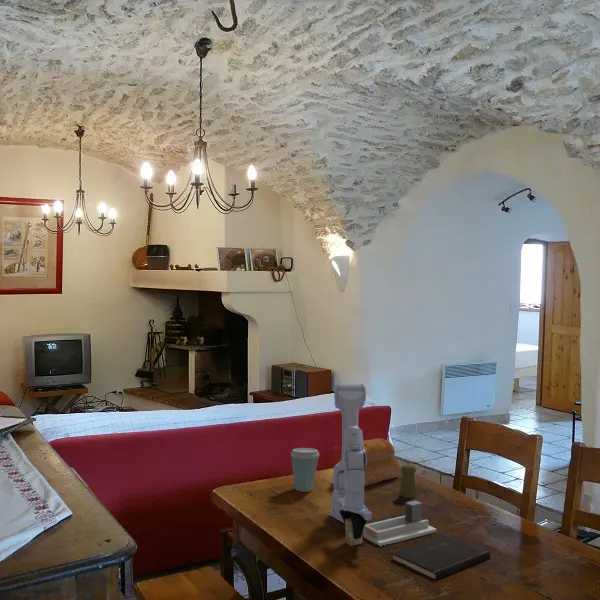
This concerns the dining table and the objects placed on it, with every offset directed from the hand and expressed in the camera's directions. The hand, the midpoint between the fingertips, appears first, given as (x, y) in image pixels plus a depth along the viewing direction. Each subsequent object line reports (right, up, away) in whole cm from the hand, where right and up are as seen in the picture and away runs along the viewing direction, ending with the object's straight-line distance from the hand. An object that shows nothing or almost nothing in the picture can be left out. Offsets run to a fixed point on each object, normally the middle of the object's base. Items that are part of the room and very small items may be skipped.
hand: (353, 536), depth 195 cm
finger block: (0, -2, 0) cm, 2 cm away
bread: (+10, 0, +61) cm, 62 cm away
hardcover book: (+24, -3, -10) cm, 26 cm away
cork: (+23, -1, +43) cm, 49 cm away
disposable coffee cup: (-14, 0, +49) cm, 51 cm away
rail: (+14, -2, +8) cm, 16 cm away
